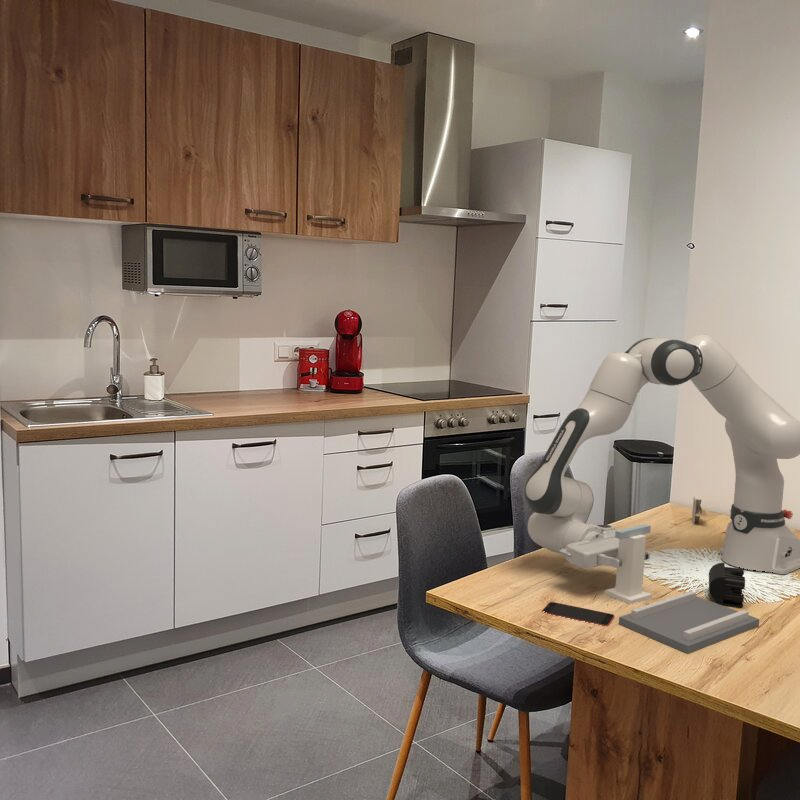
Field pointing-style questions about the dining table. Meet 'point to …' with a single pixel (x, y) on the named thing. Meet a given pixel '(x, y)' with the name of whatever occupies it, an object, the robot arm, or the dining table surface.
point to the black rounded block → (727, 585)
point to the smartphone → (579, 613)
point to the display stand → (630, 565)
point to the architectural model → (697, 511)
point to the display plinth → (688, 622)
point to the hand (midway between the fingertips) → (634, 560)
